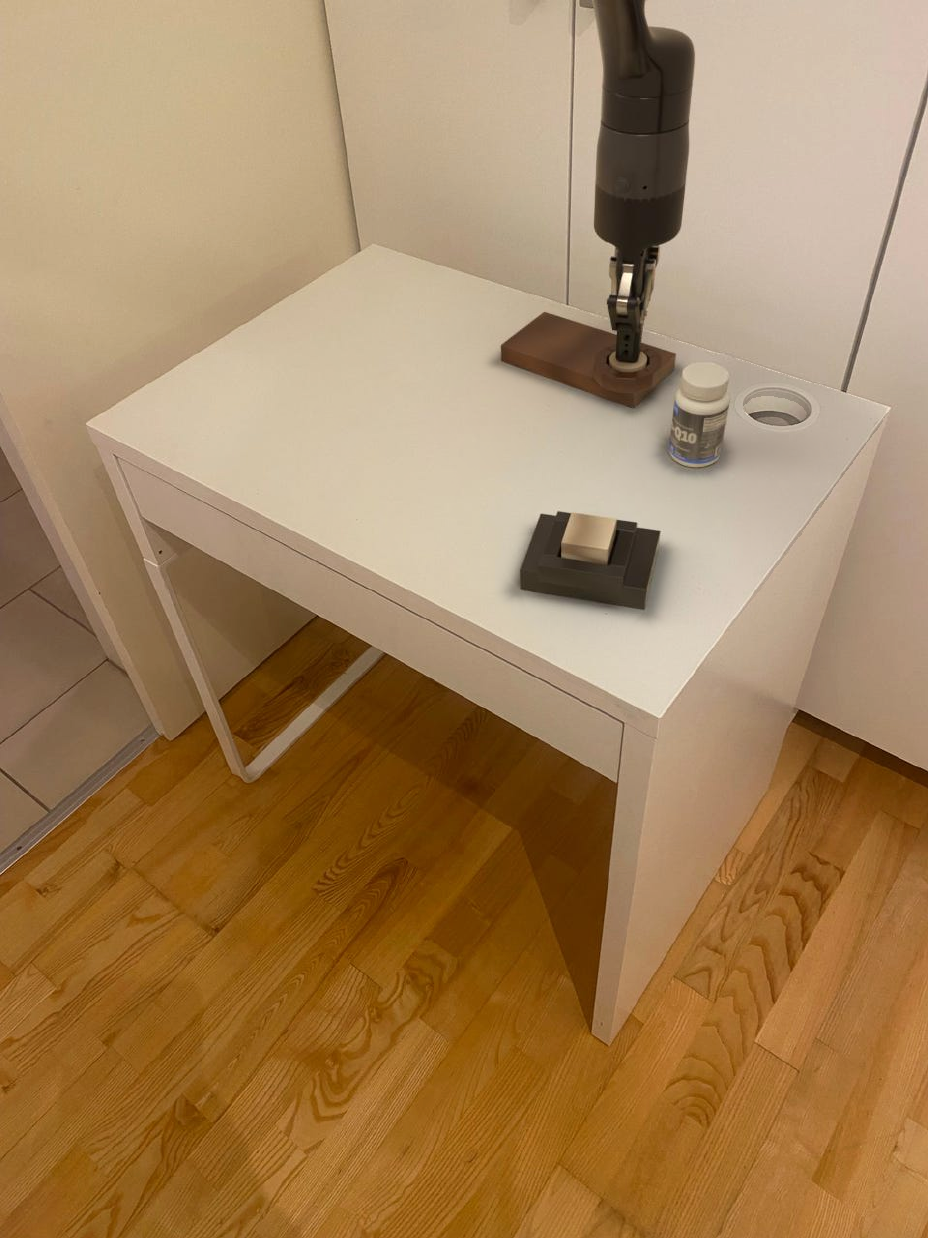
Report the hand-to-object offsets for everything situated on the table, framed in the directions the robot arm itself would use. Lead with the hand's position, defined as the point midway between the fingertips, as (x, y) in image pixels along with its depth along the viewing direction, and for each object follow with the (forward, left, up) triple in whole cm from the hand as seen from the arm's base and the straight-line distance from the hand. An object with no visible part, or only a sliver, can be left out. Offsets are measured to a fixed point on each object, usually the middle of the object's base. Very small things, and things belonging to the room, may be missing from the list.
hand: (627, 357), depth 92 cm
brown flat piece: (+5, -4, -4) cm, 7 cm away
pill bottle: (-8, +9, -4) cm, 12 cm away
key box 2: (-2, +26, -4) cm, 26 cm away
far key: (0, 0, -2) cm, 2 cm away
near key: (-2, +27, 0) cm, 27 cm away
